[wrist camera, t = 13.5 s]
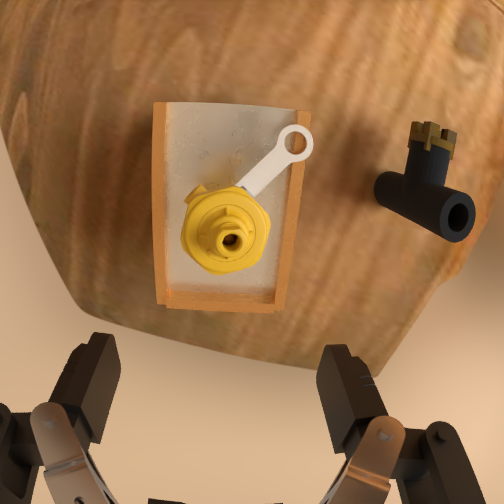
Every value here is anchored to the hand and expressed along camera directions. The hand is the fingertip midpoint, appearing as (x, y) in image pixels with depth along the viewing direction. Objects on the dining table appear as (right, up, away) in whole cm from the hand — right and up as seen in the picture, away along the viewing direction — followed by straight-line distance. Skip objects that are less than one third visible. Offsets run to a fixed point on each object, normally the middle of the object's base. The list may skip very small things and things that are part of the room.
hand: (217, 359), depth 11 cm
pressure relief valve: (+1, +10, +15) cm, 18 cm away
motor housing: (-2, +13, +27) cm, 30 cm away
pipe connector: (+20, +15, +27) cm, 38 cm away
